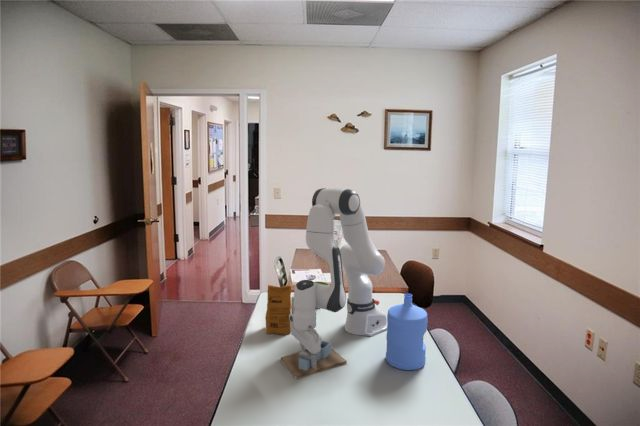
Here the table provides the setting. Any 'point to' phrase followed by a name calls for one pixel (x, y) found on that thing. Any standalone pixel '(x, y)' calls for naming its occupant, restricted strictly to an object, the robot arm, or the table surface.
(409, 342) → the water jug
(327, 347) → the link
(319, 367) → the base board
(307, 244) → the robot arm
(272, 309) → the coffee package
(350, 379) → the table surface
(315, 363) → the pintle keeper
